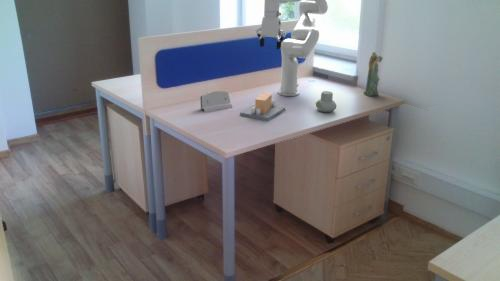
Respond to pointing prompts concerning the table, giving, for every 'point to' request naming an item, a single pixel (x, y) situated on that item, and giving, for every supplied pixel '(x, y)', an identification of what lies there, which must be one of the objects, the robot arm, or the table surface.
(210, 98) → the hinge
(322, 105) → the grey green vase
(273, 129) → the table surface
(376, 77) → the statue
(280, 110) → the base plate
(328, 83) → the table surface
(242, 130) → the table surface
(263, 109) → the block
